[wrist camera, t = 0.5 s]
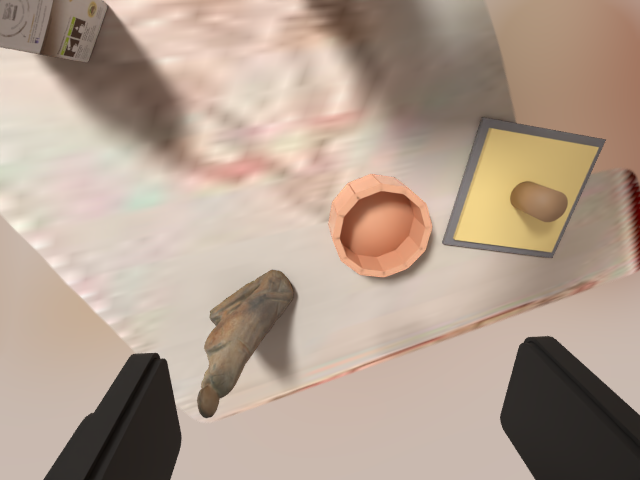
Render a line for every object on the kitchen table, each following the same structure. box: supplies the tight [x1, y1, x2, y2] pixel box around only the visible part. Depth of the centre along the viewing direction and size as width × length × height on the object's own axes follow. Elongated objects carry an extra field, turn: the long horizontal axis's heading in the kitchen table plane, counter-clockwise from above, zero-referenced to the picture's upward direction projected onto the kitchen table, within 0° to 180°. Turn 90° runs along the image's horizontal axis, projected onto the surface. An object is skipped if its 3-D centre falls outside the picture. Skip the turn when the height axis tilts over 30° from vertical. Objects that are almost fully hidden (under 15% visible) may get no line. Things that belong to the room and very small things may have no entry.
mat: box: [442, 117, 606, 258], centre depth 44 cm, size 16×16×1 cm
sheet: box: [453, 128, 599, 252], centre depth 41 cm, size 14×14×6 cm
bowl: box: [328, 174, 432, 277], centre depth 42 cm, size 11×11×5 cm
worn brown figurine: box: [197, 270, 294, 418], centre depth 41 cm, size 12×6×18 cm, turn 119°
